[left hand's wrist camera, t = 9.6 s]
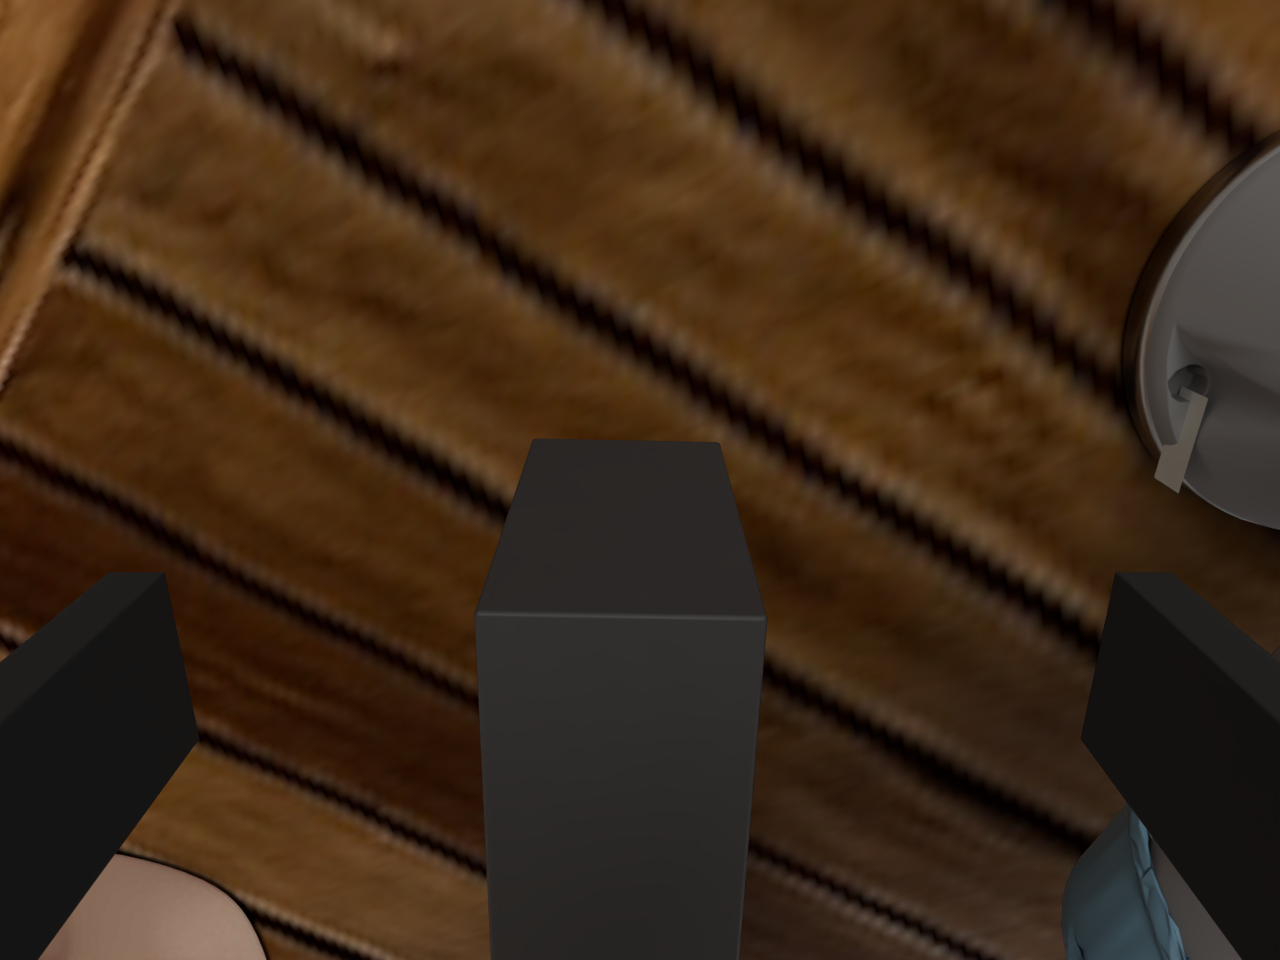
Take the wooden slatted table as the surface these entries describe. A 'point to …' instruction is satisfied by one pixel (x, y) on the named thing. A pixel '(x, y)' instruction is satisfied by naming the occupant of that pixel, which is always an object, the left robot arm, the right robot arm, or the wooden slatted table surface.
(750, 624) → the bar
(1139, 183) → the wooden slatted table surface
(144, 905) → the anatomical model
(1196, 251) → the left robot arm
